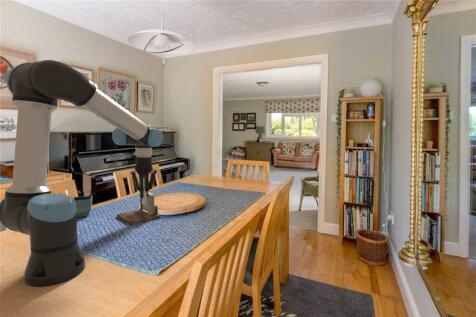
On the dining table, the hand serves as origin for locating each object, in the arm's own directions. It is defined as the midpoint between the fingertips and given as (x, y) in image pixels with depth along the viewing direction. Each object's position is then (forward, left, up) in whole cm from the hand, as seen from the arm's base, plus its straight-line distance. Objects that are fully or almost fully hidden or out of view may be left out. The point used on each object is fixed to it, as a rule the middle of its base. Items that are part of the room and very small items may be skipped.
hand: (144, 204), depth 130 cm
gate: (+3, +2, -5) cm, 7 cm away
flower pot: (-20, +25, -8) cm, 33 cm away
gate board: (-1, +3, -7) cm, 8 cm away
